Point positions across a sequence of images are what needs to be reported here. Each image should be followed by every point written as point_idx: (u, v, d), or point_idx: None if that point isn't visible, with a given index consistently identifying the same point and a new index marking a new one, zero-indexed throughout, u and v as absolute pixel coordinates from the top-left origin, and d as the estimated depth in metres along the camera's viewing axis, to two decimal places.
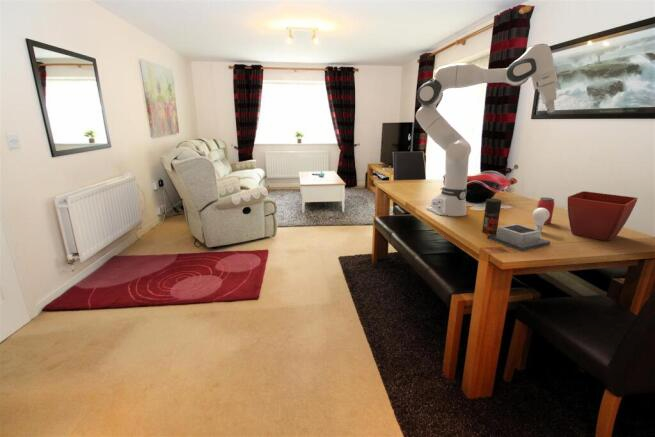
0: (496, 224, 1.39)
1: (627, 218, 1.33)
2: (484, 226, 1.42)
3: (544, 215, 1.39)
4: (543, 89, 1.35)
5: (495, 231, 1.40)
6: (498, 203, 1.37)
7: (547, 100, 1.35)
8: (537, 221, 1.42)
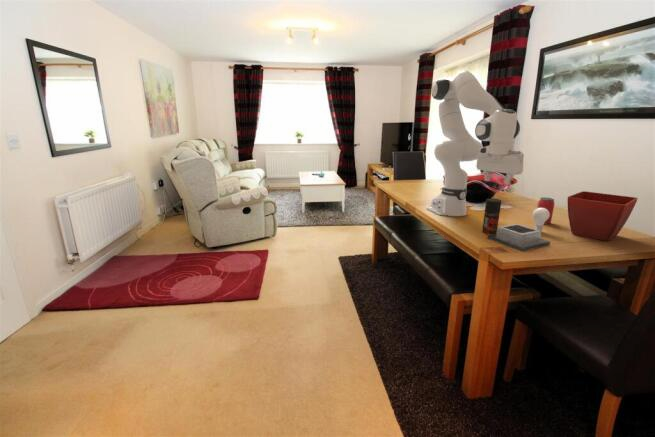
0: (496, 224, 1.39)
1: (627, 218, 1.33)
2: (484, 226, 1.42)
3: (544, 215, 1.39)
4: None
5: (495, 231, 1.40)
6: (498, 203, 1.37)
7: None
8: (537, 221, 1.42)
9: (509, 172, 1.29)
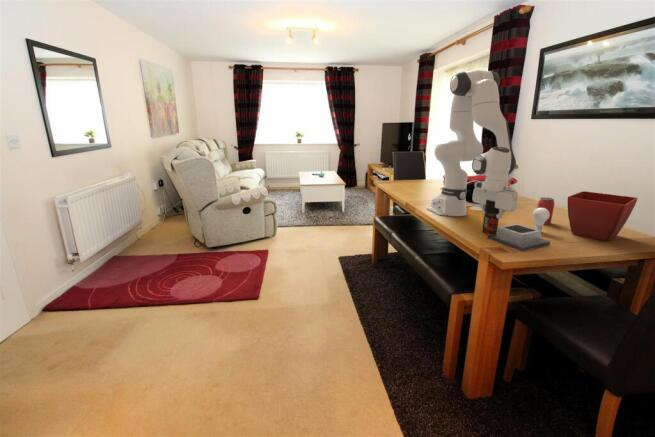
0: (496, 224, 1.39)
1: (627, 218, 1.33)
2: (484, 226, 1.42)
3: (544, 215, 1.39)
4: None
5: (495, 231, 1.40)
6: None
7: None
8: (537, 221, 1.42)
9: (503, 208, 1.33)
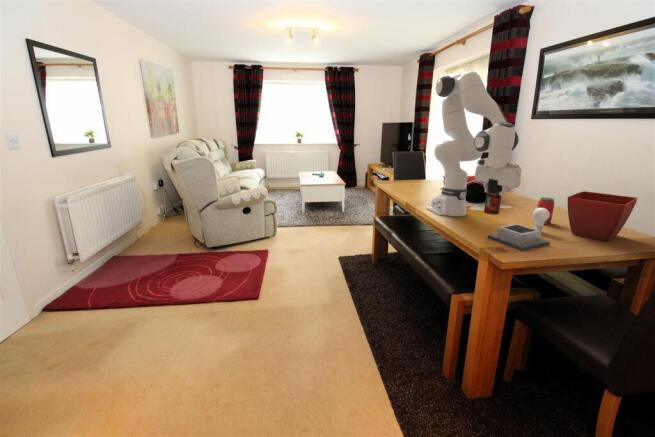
0: (498, 204, 1.37)
1: (627, 218, 1.33)
2: (486, 206, 1.40)
3: (544, 215, 1.39)
4: None
5: (497, 211, 1.38)
6: None
7: None
8: (537, 221, 1.42)
9: (507, 185, 1.30)
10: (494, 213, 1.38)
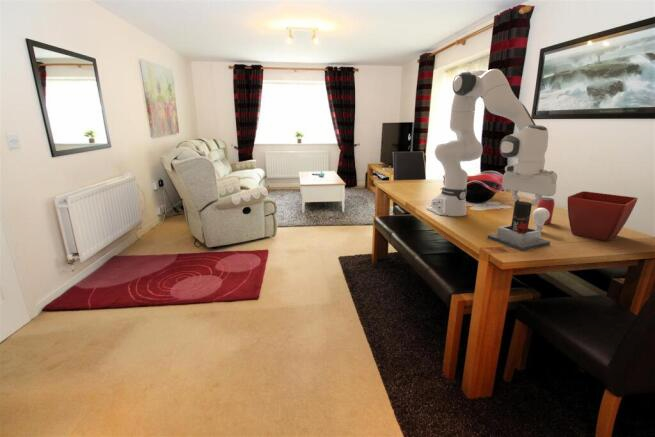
0: (526, 229, 1.28)
1: (627, 218, 1.33)
2: None
3: (544, 215, 1.39)
4: None
5: None
6: (529, 206, 1.25)
7: None
8: (537, 221, 1.42)
9: (540, 193, 1.19)
10: None
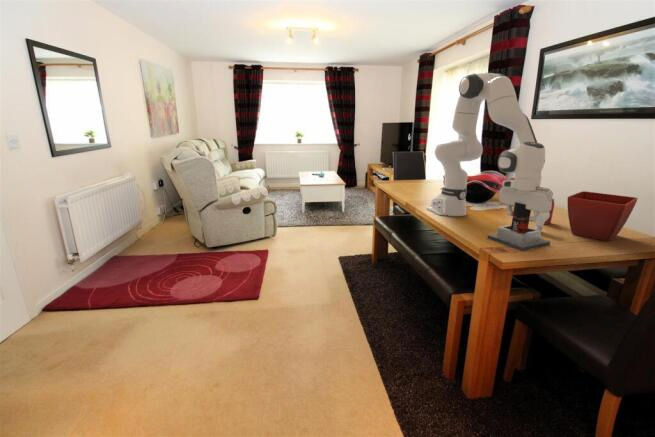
0: (526, 229, 1.28)
1: (627, 218, 1.33)
2: None
3: (544, 215, 1.39)
4: None
5: None
6: None
7: None
8: (537, 221, 1.42)
9: (536, 210, 1.21)
10: None
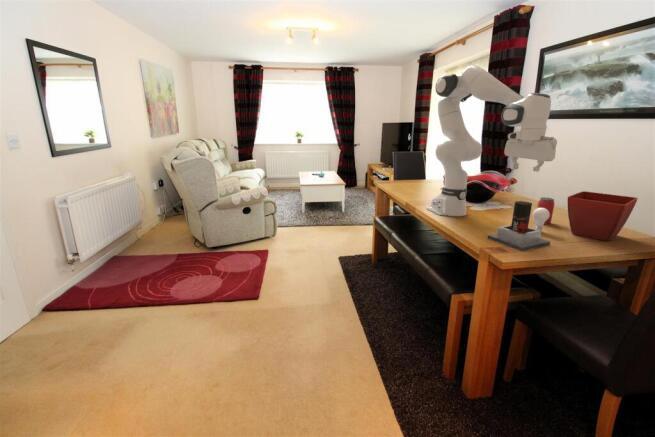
0: (526, 229, 1.28)
1: (627, 218, 1.33)
2: None
3: (544, 215, 1.39)
4: None
5: None
6: (529, 206, 1.25)
7: None
8: (537, 221, 1.42)
9: (540, 159, 1.26)
10: None
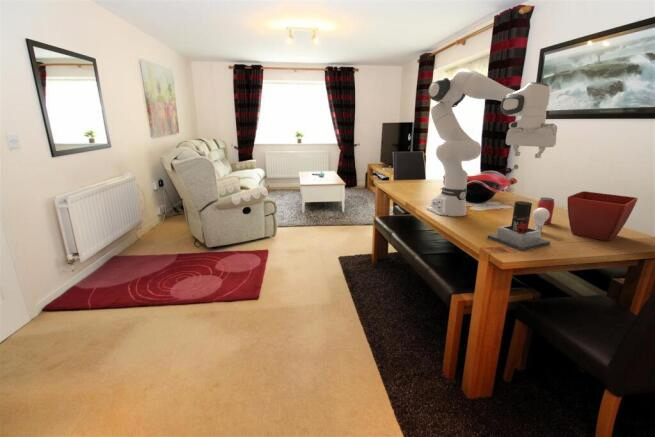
0: (526, 229, 1.28)
1: (627, 218, 1.33)
2: None
3: (544, 215, 1.39)
4: None
5: None
6: (529, 206, 1.25)
7: None
8: (537, 221, 1.42)
9: (541, 145, 1.29)
10: None
